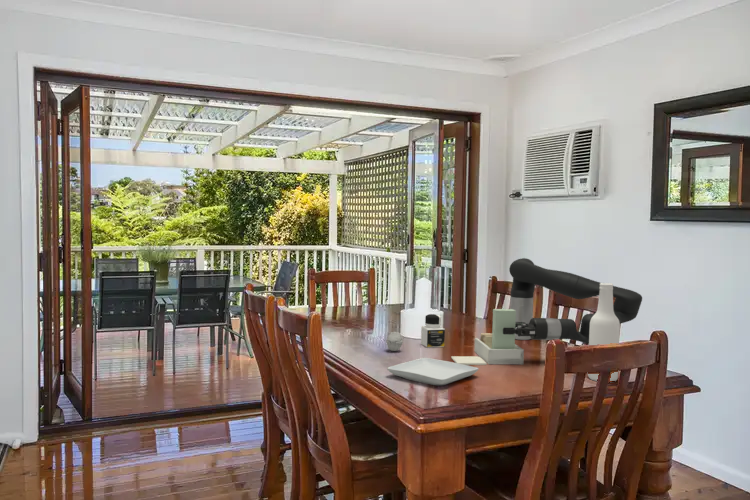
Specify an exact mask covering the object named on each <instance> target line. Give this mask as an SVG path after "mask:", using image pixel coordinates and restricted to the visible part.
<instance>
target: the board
mask: <svg viewBox="0 0 750 500" xmlns="http://www.w3.org/2000/svg"><path fill="white" fill-rule="evenodd" d="M515 322H516V311H515V310H513V309H510V308H494V309H492V332H491V333H492V349H515V344H516V339H515V335H514V334H503V328H515Z"/></svg>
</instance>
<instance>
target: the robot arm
mask: <svg viewBox="0 0 750 500" xmlns="http://www.w3.org/2000/svg"><path fill="white" fill-rule="evenodd" d="M509 274H510V276H511V277H512V286H511V289H510V306H509V309H513V310H515V311H516V322H515V328H503V334H514V335H515V340H519V341H523V340H526V341H527V340H534V341H536V340H537V341H542V340H543V341H551V340H553V339H554V340H571V341H572V340H573V341H577V342H580V343H584V344H587V345H589V330H590V321H591V318H592V317H593V315H594V314H595V313H585V314H584V315H583V316H582V318H581V321H580V326H579V327H580V329H579V331H578V330H577V323H576V322H575V320H574V319H573V318H572V319H571V318H553V317H534V315H533V313H534V294H535V293H534V292H535V288H536V286H540V287H543V288H545V289H546V290H549V291H550V290H551V291H552V292H555V293H557V294H560V295H562V296H566V297H568V298H573V299H575V300H584V299H589V298H593V297H594V298H595V297H597V296H598V297H599V292H600V289H599V287H600V283H601V282H600V281H597V280H593V279H590V278H587V277H584V276H580V275H577V274H575V273H572V272H568V271H562V270H555V269H548V268H545V267H541V266H539V265H536V264H535V263H534V262H533V260H531V259H529V258H525V257H523V258H518V259H516V260H514V261H512V262H511V264H510V266H509ZM613 298H614V300H613V311H614V314H615V315H616V317H617V318H618V320H619V323H620V325H621V324H624V323H627V322H630V321H634V319H636V317H637V315H638V313H639V311H640V307H641V305H642V302H643V296H642V295H641V294H640V293H639V292H637V291H634V290H632V289H628V288H624V287H619V286H615V285H613ZM554 340H553V341H554Z"/></svg>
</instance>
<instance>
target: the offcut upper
mask: <svg viewBox="0 0 750 500" xmlns="http://www.w3.org/2000/svg"><path fill="white" fill-rule="evenodd" d="M479 338H480V339H479V340H481V341H483V342H484V343H492V332H491V333H490V332H489V333H488V332H485V333H482V332H481V333H480V337H479Z"/></svg>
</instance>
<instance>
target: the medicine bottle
mask: <svg viewBox="0 0 750 500" xmlns="http://www.w3.org/2000/svg"><path fill="white" fill-rule="evenodd" d="M424 318H425V319H424V320H425V321H424V322H425V325H421V326H420V327H421V329H420V330H421V331H420V332H421V333H420V334H421V335H420V344H421V345H422V346H424V347H426V348H427V349H428V348H429V349H430V348H444V347H445V340H446V339H445V338H446V337H445V336H446V335H445V333H446V329H445V328H443V326H442V316H441V315H439V314H434V313H433V314H432V313H430V314H427V315H425V317H424Z"/></svg>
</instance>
